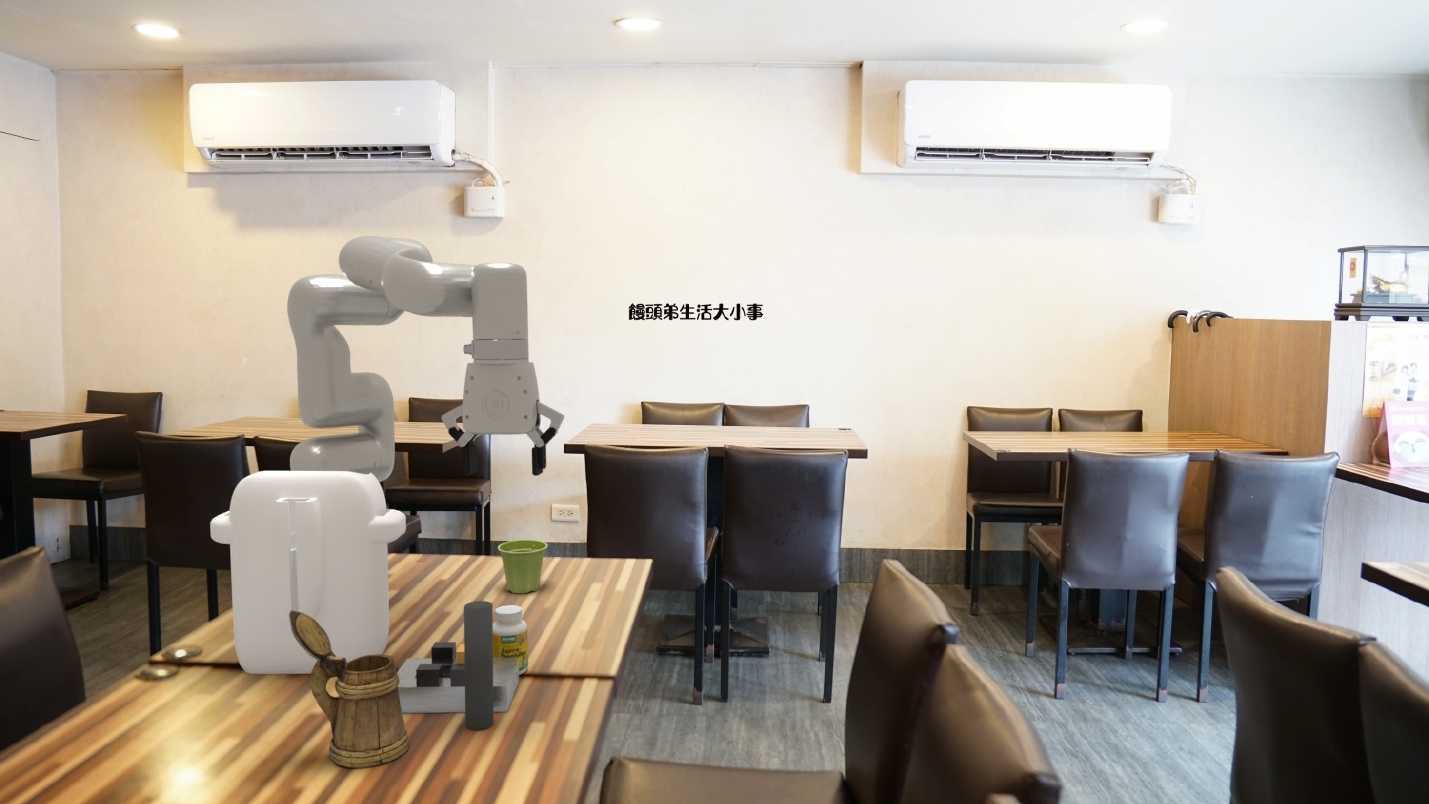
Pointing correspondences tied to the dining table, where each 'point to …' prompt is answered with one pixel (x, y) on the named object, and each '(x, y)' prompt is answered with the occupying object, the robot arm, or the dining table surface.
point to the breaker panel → (450, 682)
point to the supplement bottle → (510, 635)
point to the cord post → (478, 665)
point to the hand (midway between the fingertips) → (504, 473)
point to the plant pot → (522, 564)
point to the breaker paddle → (460, 655)
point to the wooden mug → (355, 699)
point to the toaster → (308, 564)
